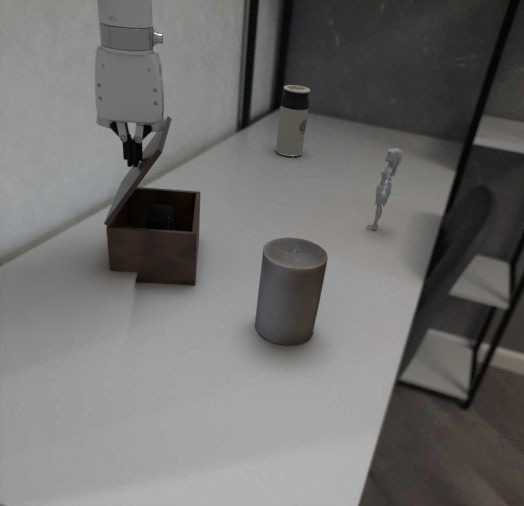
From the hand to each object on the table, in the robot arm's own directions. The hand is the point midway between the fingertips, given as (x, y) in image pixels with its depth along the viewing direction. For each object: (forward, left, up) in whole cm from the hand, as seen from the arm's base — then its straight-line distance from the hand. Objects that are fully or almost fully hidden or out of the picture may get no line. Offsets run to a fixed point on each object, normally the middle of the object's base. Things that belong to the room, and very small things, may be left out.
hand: (133, 164), depth 87 cm
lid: (+1, 0, -1) cm, 2 cm away
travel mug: (+36, +70, -17) cm, 81 cm away
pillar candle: (+26, -21, -18) cm, 38 cm away
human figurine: (+51, +20, -18) cm, 57 cm away
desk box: (+4, 0, -17) cm, 18 cm away
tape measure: (+4, 0, -17) cm, 17 cm away
